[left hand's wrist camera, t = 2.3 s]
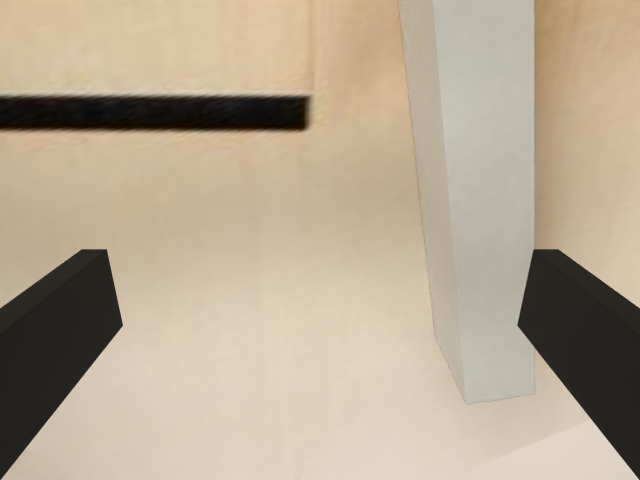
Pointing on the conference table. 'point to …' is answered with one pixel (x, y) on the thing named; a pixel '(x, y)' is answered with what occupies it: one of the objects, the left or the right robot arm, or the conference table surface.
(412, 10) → the bar
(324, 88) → the conference table surface
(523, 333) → the left robot arm
